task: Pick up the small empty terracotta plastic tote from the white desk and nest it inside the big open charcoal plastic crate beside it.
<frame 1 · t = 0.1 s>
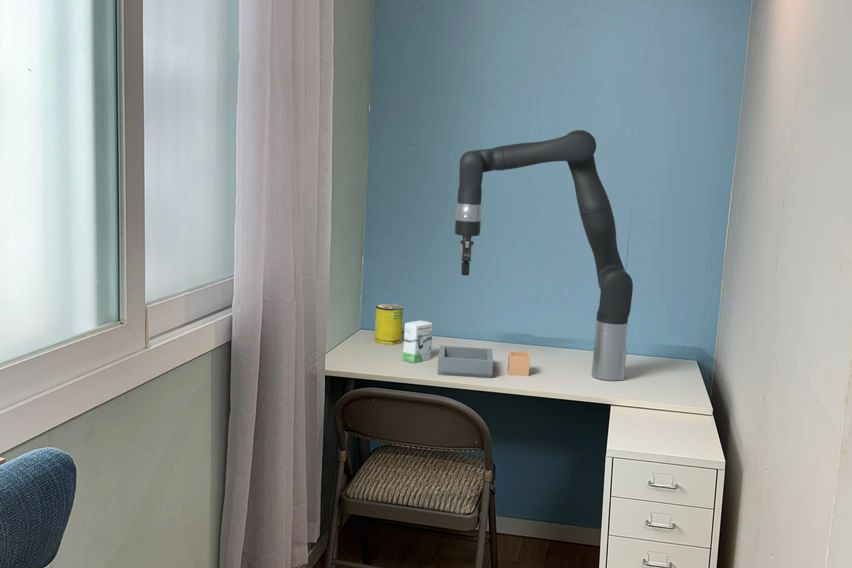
hand: (464, 273, 267), 29 cm above the table, fingers open, 8 cm apart
big crate: (464, 369, 270), on the table
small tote: (517, 373, 270), on the table
ink box: (416, 360, 279), on the table
yellow tin can: (387, 342, 301), on the table
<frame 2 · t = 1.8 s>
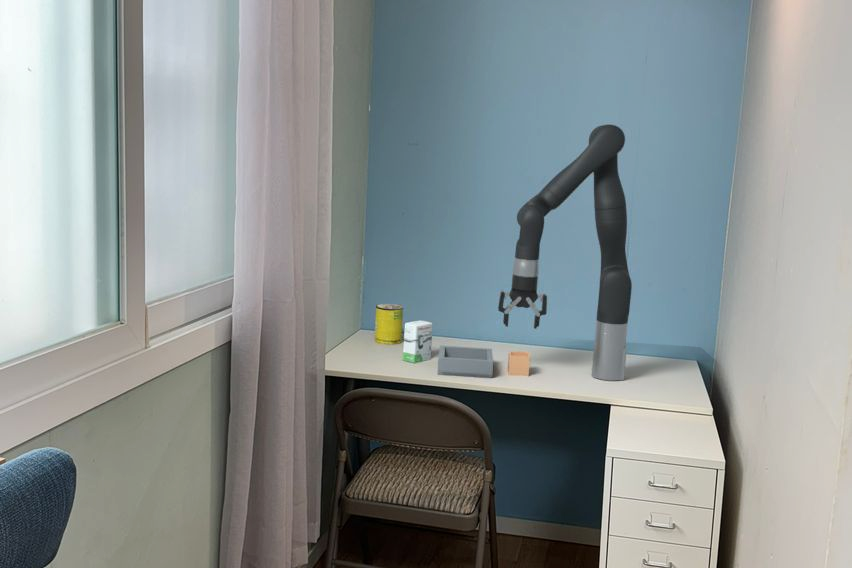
hand: (520, 327, 268), 14 cm above the table, fingers open, 8 cm apart
nothing on the table moved.
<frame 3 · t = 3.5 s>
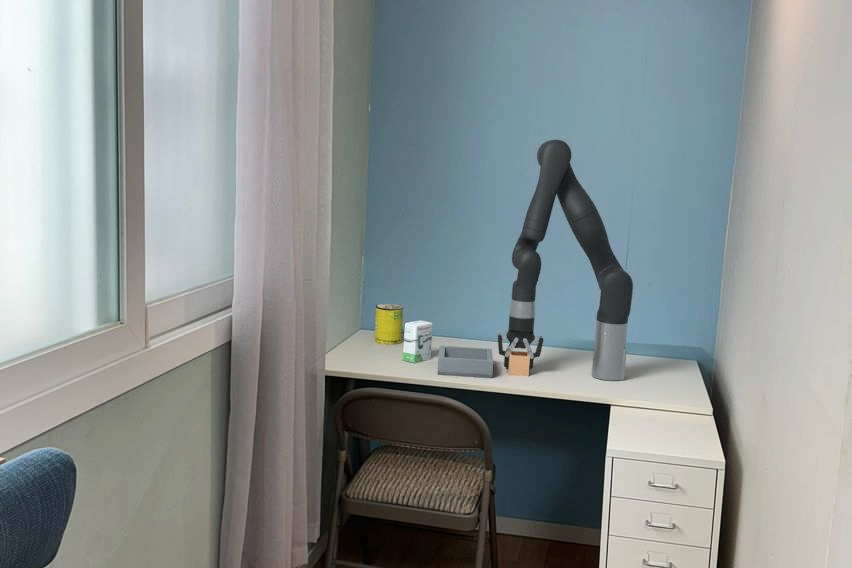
hand: (518, 369, 269), 1 cm above the table, fingers closed on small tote, 6 cm apart
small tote: (517, 373, 270), on the table, touching gripper
everything else where it was.
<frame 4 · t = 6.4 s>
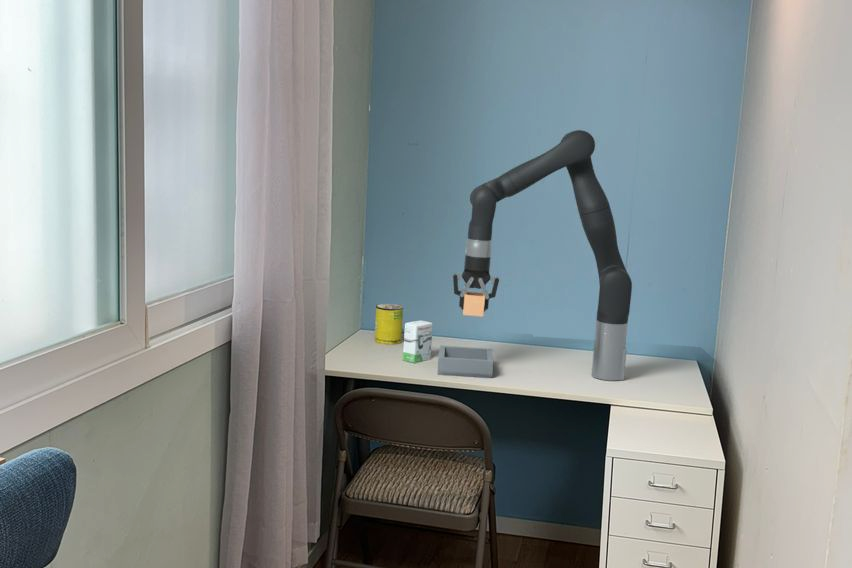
hand: (473, 309, 267), 18 cm above the table, fingers closed on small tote, 6 cm apart
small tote: (473, 313, 268), point 17 cm above the table, touching gripper
everything else where it was.
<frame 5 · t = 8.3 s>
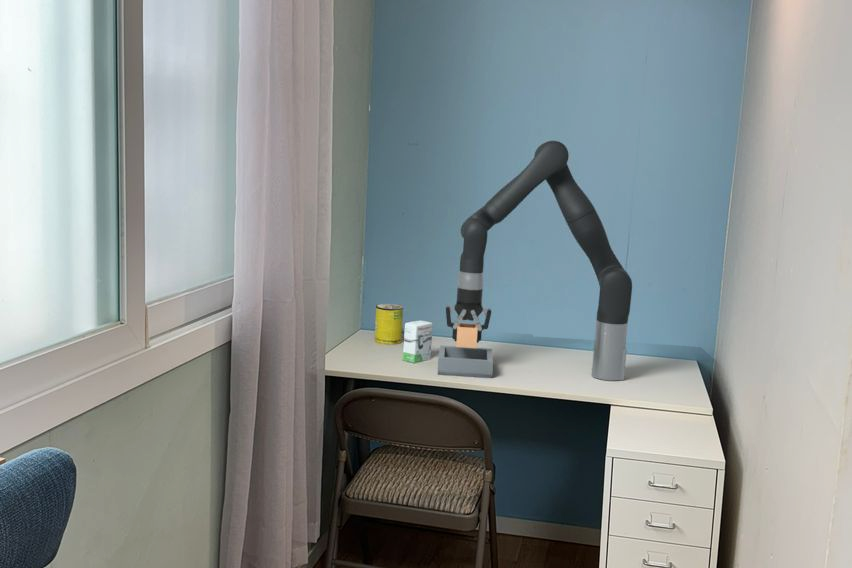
hand: (466, 341, 269), 9 cm above the table, fingers closed on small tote, 6 cm apart
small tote: (466, 345, 269), point 7 cm above the table, touching gripper
everything else where it was.
when the fingers open (4 cm above the table, at t = 9.9 s): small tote drops 1 cm, resting on big crate.
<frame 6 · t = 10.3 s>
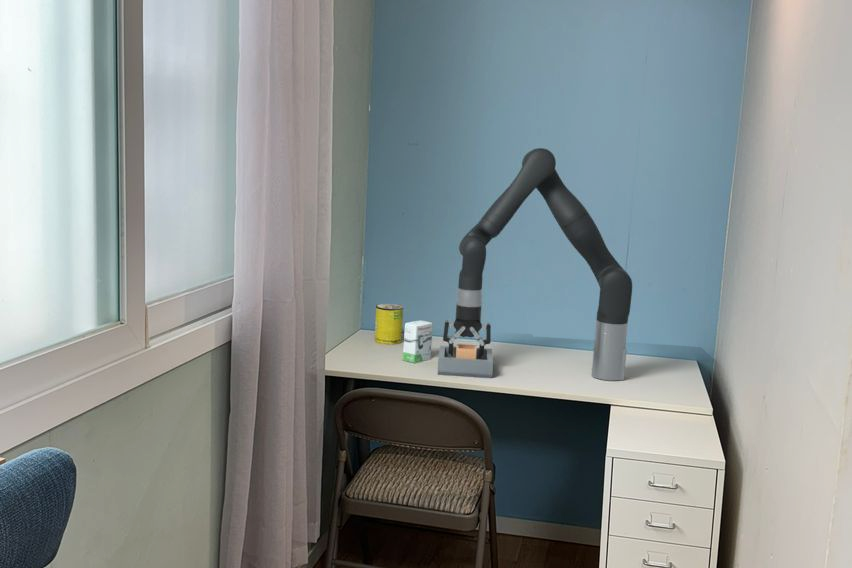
hand: (465, 356, 270), 4 cm above the table, fingers open, 8 cm apart
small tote: (465, 366, 270), point 1 cm above the table, touching big crate
everything else where it was.
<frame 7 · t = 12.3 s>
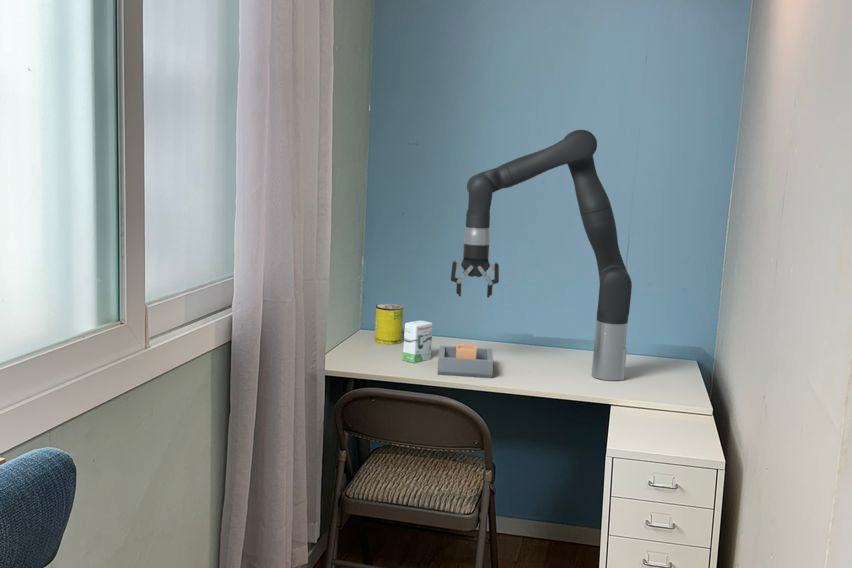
hand: (473, 296, 267), 22 cm above the table, fingers open, 8 cm apart
nothing on the table moved.
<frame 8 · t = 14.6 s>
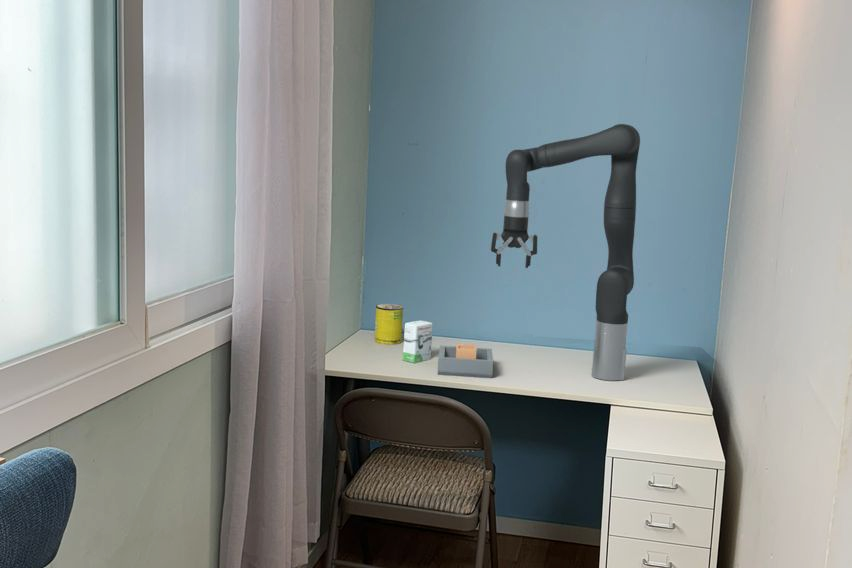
hand: (512, 266, 279), 30 cm above the table, fingers open, 8 cm apart
nothing on the table moved.
at the end: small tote inside the target area on the big crate (0.1 cm from its centre), point 1.0 cm above the big crate's base; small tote tilted 0°; the gripper is holding nothing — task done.
